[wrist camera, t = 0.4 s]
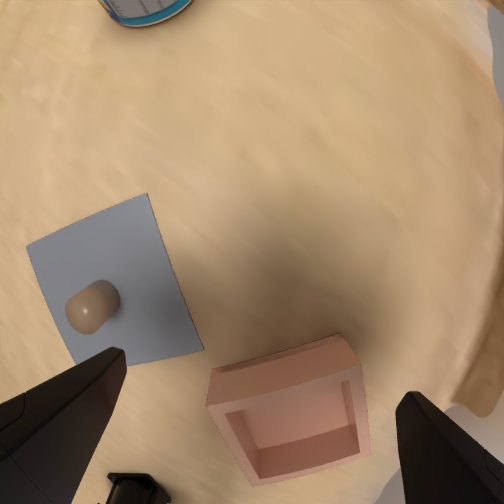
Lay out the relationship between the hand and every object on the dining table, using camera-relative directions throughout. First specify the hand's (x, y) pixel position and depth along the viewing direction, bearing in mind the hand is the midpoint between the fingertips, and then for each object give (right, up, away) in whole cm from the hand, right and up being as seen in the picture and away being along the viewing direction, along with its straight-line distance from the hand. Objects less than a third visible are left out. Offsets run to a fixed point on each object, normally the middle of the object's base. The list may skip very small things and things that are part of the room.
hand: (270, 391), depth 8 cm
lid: (-13, 0, +15) cm, 20 cm away
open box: (+3, -9, +17) cm, 19 cm away
